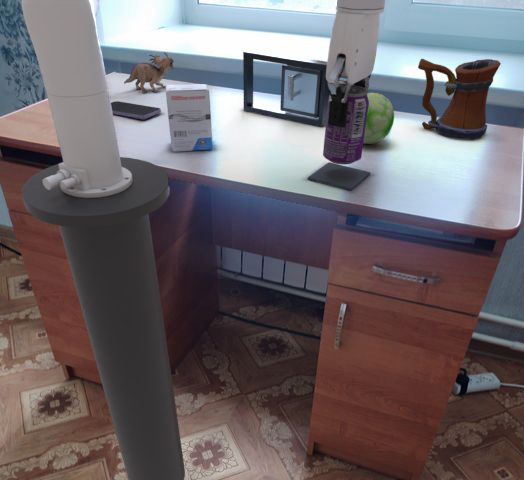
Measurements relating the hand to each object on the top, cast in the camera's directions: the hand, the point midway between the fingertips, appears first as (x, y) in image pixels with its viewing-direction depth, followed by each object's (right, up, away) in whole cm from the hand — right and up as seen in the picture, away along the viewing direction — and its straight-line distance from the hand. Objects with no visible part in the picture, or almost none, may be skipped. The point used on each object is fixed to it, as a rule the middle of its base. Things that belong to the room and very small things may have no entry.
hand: (346, 119), depth 90 cm
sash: (-8, +14, +29) cm, 33 cm away
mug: (+28, +10, +28) cm, 41 cm away
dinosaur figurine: (-46, +31, +50) cm, 74 cm away
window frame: (-10, +16, +34) cm, 39 cm away
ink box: (-30, +2, +18) cm, 35 cm away
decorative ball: (+8, +4, +21) cm, 23 cm away
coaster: (0, -8, +7) cm, 11 cm away
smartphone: (-48, +17, +34) cm, 61 cm away
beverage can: (0, -6, +5) cm, 7 cm away
